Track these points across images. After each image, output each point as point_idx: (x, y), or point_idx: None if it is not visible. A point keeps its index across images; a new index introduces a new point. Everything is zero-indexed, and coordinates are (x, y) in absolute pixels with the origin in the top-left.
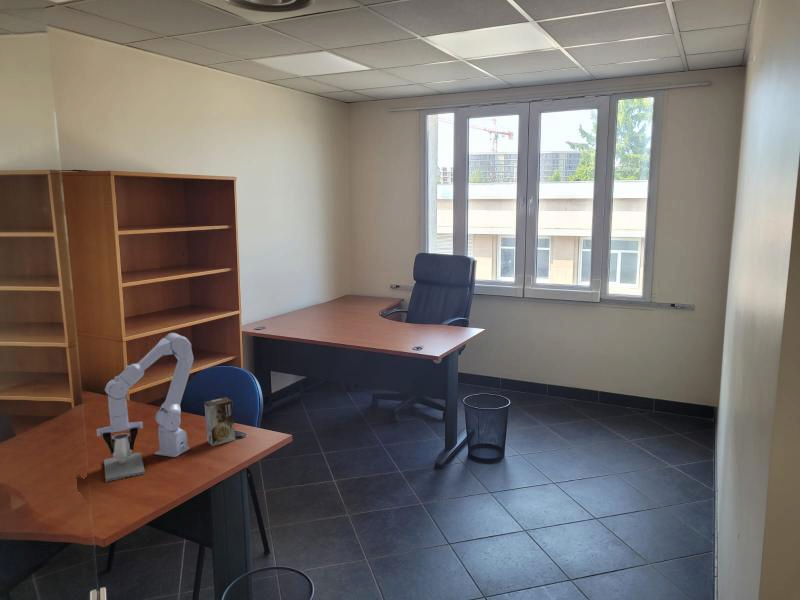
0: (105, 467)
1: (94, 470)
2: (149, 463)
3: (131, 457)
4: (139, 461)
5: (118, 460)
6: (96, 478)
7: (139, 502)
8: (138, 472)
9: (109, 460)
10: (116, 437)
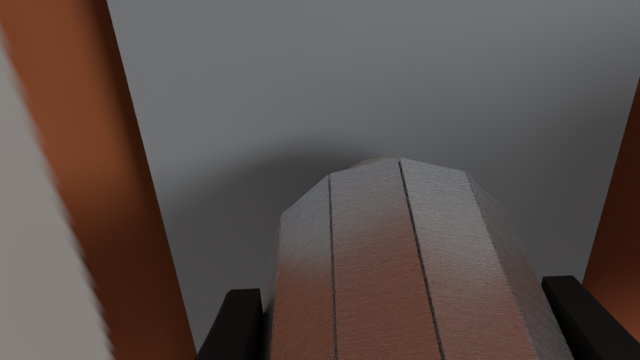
0: (182, 260)
1: (56, 189)
2: (636, 262)
3: (497, 105)
4: (554, 264)
5: (323, 132)
6: (133, 356)
7: None
8: None
9: (198, 73)
10: None
